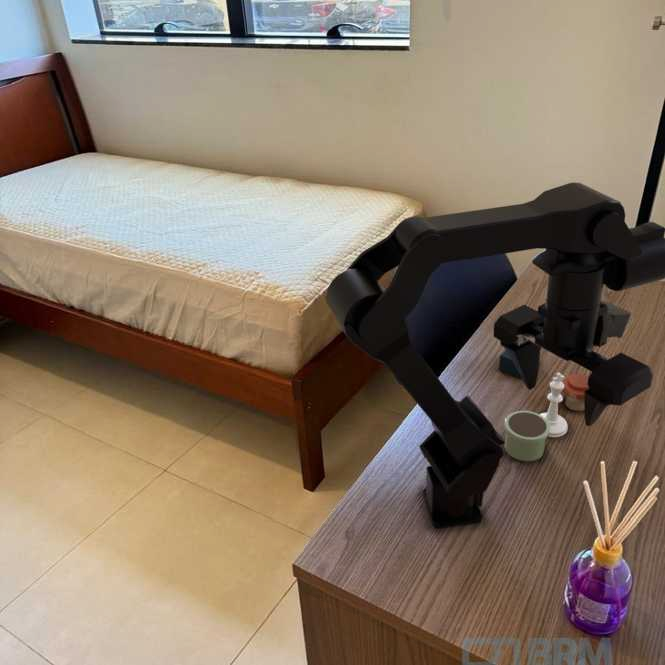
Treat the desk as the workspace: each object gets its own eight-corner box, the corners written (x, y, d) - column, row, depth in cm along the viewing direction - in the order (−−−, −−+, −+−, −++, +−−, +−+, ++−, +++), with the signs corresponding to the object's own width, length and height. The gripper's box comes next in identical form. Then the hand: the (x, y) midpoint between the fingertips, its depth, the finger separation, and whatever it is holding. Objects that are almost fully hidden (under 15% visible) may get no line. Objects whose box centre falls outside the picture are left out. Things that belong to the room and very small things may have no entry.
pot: (511, 465, 86) (514, 441, 84) (496, 436, 92) (498, 413, 89) (553, 460, 87) (557, 436, 84) (536, 431, 92) (539, 407, 89)
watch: (532, 383, 102) (540, 327, 96) (489, 366, 106) (494, 312, 101) (548, 367, 105) (556, 313, 99) (505, 351, 110) (511, 298, 104)
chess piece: (526, 420, 94) (534, 368, 89) (554, 412, 95) (563, 360, 90) (545, 440, 90) (554, 387, 85) (574, 432, 91) (584, 379, 86)
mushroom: (567, 417, 94) (572, 392, 92) (553, 396, 98) (557, 372, 96) (599, 413, 94) (605, 388, 92) (584, 392, 99) (589, 368, 96)
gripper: (697, 305, 65) (668, 417, 73) (556, 250, 79) (545, 350, 87) (629, 343, 60) (607, 458, 69) (493, 278, 74) (488, 380, 82)
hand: (559, 405), depth 77 cm, fingers open, 9 cm apart
